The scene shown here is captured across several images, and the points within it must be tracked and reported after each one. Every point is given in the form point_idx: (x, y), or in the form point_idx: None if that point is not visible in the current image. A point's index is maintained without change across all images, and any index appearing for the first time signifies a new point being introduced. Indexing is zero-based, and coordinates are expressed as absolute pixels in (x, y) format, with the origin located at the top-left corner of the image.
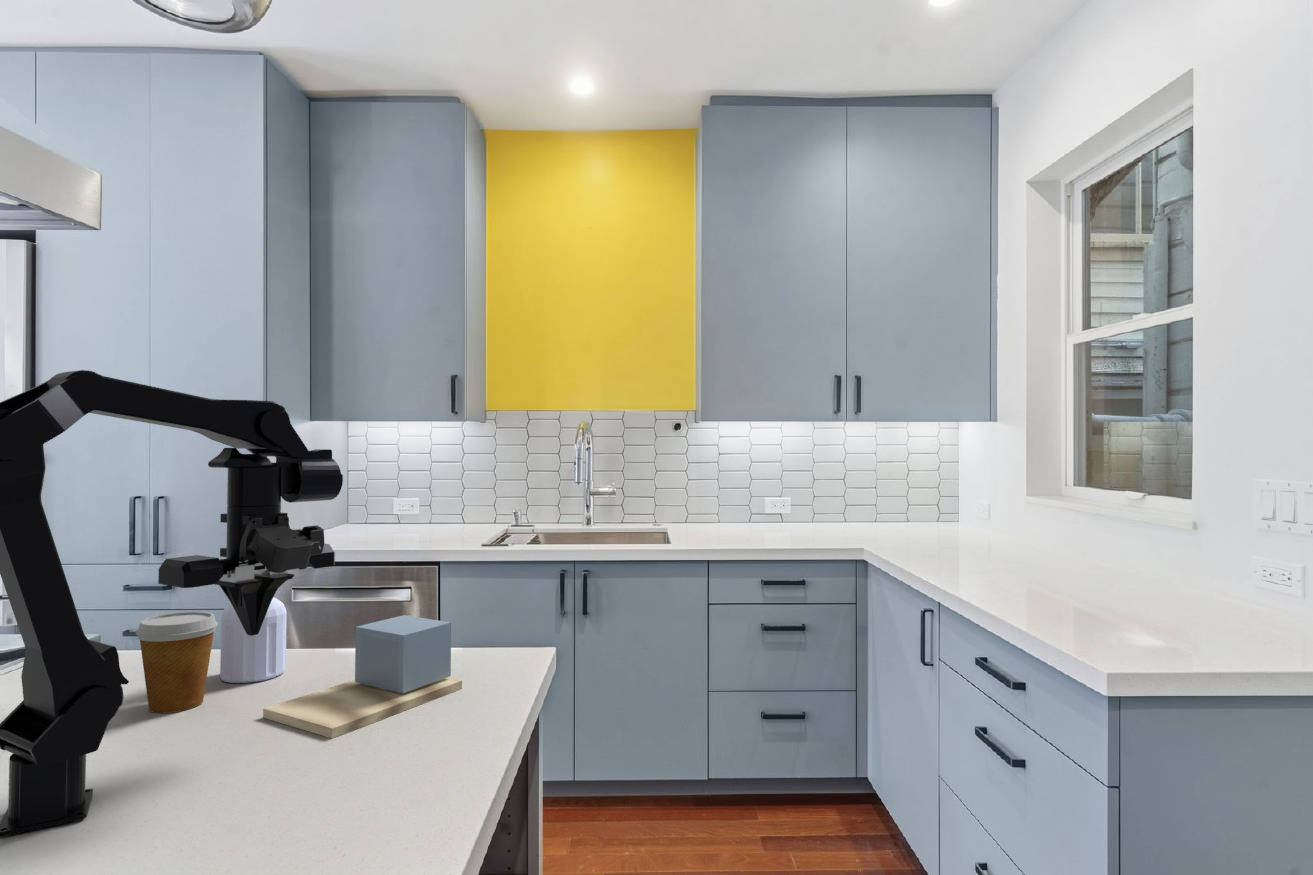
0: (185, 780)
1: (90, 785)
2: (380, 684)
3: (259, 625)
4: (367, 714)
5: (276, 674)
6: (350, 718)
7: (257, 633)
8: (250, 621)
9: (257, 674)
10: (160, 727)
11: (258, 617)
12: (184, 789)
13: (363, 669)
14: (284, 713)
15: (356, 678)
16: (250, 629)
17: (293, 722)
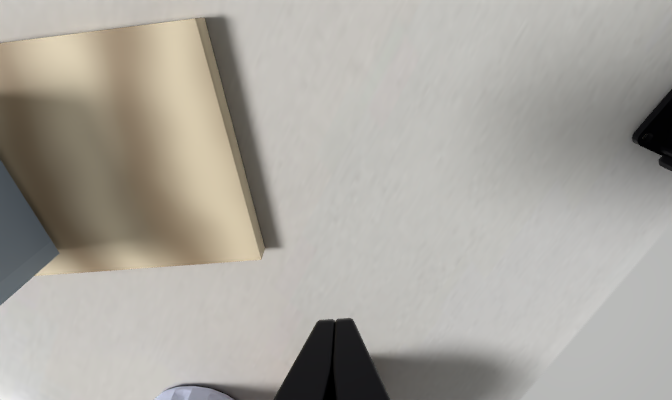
0: (518, 59)
1: (597, 180)
2: (4, 180)
3: (313, 352)
4: (86, 40)
5: (173, 389)
6: (133, 49)
7: (322, 321)
8: (375, 379)
9: (203, 398)
10: (393, 321)
11: (322, 395)
12: (552, 8)
13: (17, 250)
14: (242, 205)
15: (50, 254)
16: (363, 342)
17: (240, 165)
